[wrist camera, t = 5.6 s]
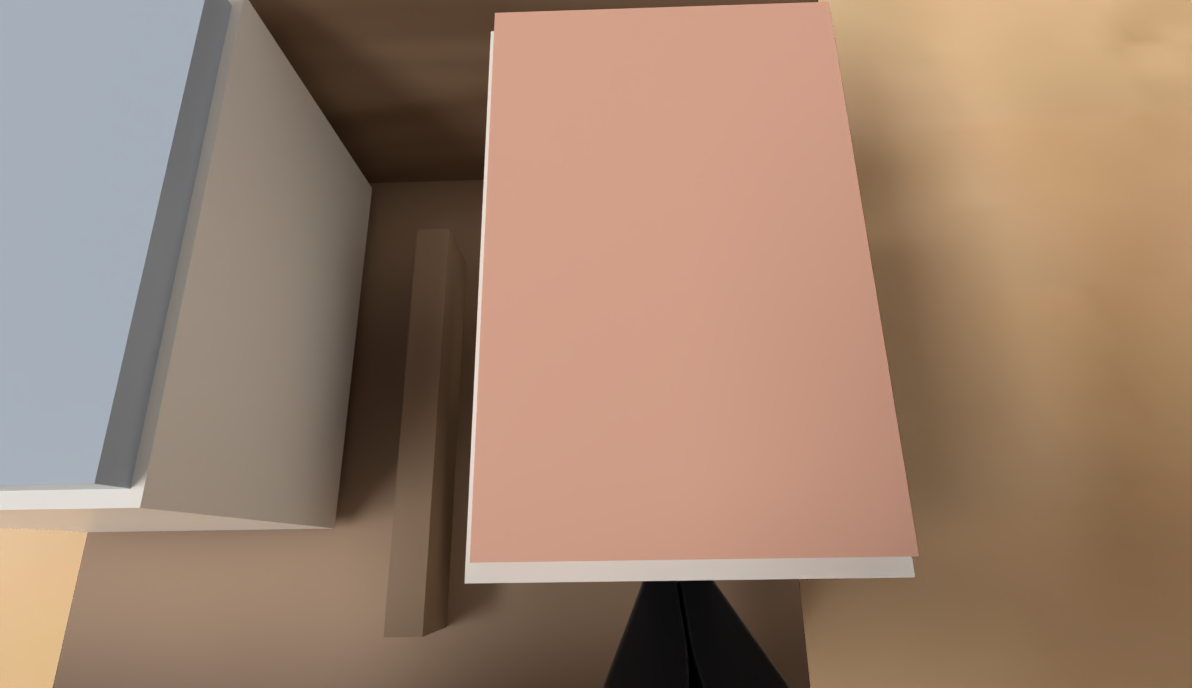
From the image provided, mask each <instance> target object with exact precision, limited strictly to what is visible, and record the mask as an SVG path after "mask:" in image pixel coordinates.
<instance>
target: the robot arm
mask: <svg viewBox="0 0 1192 688" xmlns="http://www.w3.org/2000/svg"><path fill="white" fill-rule="evenodd" d="M603 688H790V686H789V685H788V684H787V682H786V681H785V679H784V678H783V677H782V675H781V674H780V672H779V671H778V670H777V668H776V667H775V665H774V664H773V663H772V661H771V660H770V658H769V657H768V656H767V654H766V653H765V651H764V650H763V649H762V647H761V646H760V644H759V643H758V642H757V640H756V639H755V637H754V636H753V635H752V633H751V632H750V630H749V629H748V628H747V626H746V625H745V624H744V622H743V621H742V619H741V618H740V617H739V615H738V614H737V612H736V611H735V610H734V608H733V607H732V605H731V604H730V603H729V601H728V600H727V598H726V597H725V596H724V594H723V593H722V591H721V590H720V589H719V587H718V586H717V584H716V583H715V582H714V580H690V581H642V584H641V587H640V589H639V592H638V595H637V597H636V600H635V603H634V605H633V608H632V611H631V613H630V616H629V619H628V621H627V624H626V627H625V629H624V632H623V635H622V637H621V640H620V643H619V645H618V648H617V651H616V653H615V656H614V659H613V661H612V664H611V667H610V669H609V672H608V675H607V677H606V680H605V683H604V685H603Z"/></svg>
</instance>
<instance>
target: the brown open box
mask: <svg viewBox="0 0 1192 688" xmlns="http://www.w3.org/2000/svg"><path fill="white" fill-rule="evenodd" d="M249 1H250V3H251V4H252V6H253V8H254V9H255V11H256V12H257V14H258V15H259V17H260V18H261V20H262V21H263V23H264V24H265V26H266V27H267V29H268V30H269V32H270V33H271V35H272V36H273V38H274V40H275V41H276V43H277V44H278V46H279V47H280V49H281V50H282V52H283V53H284V55H285V56H286V58H287V59H288V61H289V62H290V64H291V65H292V67H293V68H294V70H295V72H296V73H297V75H298V76H299V78H300V79H301V81H302V82H303V84H304V85H305V87H306V88H307V90H308V91H309V93H310V94H311V96H312V97H313V99H314V100H315V102H316V104H317V105H318V107H319V108H320V110H321V111H322V113H323V114H324V116H325V117H326V119H327V120H328V122H329V123H330V125H331V126H332V128H333V129H334V131H335V132H336V134H337V136H338V137H339V139H340V140H341V142H342V143H343V145H344V146H345V148H346V149H347V151H348V152H349V154H350V155H351V157H352V158H353V160H354V161H355V163H356V164H357V166H358V168H359V169H360V171H361V172H362V174H363V175H364V177H365V178H366V180H367V181H368V183H369V184H370V186H371V187H372V194H371V203H370V212H369V221H368V230H367V239H366V248H365V257H364V266H363V275H362V284H361V293H360V303H359V312H358V321H357V330H356V339H355V348H354V357H353V366H352V375H351V384H350V393H349V402H348V411H347V421H346V430H345V439H344V448H343V457H342V466H341V475H340V484H339V493H338V502H337V511H336V520H335V529H271V530H206V531H140V532H88V534H87V538H86V542H85V547H84V551H83V556H82V560H81V565H80V569H79V573H78V578H77V582H76V587H75V591H74V596H73V600H72V604H71V609H70V613H69V618H68V622H67V627H66V631H65V635H64V640H63V644H62V649H61V653H60V658H59V662H58V666H57V671H56V675H55V680H54V684H53V688H603V685H604V683H605V680H606V677H607V675H608V672H609V669H610V667H611V664H612V661H613V659H614V656H615V653H616V651H617V648H618V645H619V643H620V640H621V637H622V635H623V632H624V629H625V627H626V624H627V621H628V619H629V616H630V613H631V611H632V608H633V605H634V603H635V600H636V597H637V595H638V592H639V589H640V587H641V584H642V581H615V582H540V583H465V562H466V541H467V521H468V500H469V479H470V458H471V437H472V416H473V395H474V374H475V353H476V332H477V311H478V290H479V269H480V249H481V228H482V207H483V186H484V165H485V144H486V123H487V102H488V81H489V60H490V39H491V31H494V21H495V13H506V12H536V11H566V10H596V9H626V8H656V7H686V6H716V5H747V4H777V3H807V2H818V0H249ZM714 582H715V583H716V584H717V586H718V587H719V589H720V590H721V591H722V593H723V594H724V596H725V597H726V598H727V600H728V601H729V603H730V604H731V605H732V607H733V608H734V610H735V611H736V612H737V614H738V615H739V617H740V618H741V619H742V621H743V622H744V624H745V625H746V626H747V628H748V629H749V630H750V632H751V633H752V635H753V636H754V637H755V639H756V640H757V642H758V643H759V644H760V646H761V647H762V649H763V650H764V651H765V653H766V654H767V656H768V657H769V658H770V660H771V661H772V663H773V664H774V665H775V667H776V668H777V670H778V671H779V672H780V674H781V675H782V677H783V678H784V679H785V681H786V682H787V684H788V685H789V686H790V688H810V681H809V672H808V662H807V653H806V643H805V634H804V624H803V615H802V605H801V596H800V587H799V579H765V580H714ZM464 583H465V584H464Z"/></svg>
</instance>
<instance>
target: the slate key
mask: <svg viewBox="0 0 1192 688" xmlns="http://www.w3.org/2000/svg"><path fill="white" fill-rule="evenodd" d="M371 194H372V187H371V186H370V184H369V183H368V181H367V180H366V178H365V177H364V175H363V174H362V172H361V171H360V169H359V168H358V166H357V164H356V163H355V161H354V160H353V158H352V157H351V155H350V154H349V152H348V151H347V149H346V148H345V146H344V145H343V143H342V142H341V140H340V139H339V137H338V136H337V134H336V132H335V131H334V129H333V128H332V126H331V125H330V123H329V122H328V120H327V119H326V117H325V116H324V114H323V113H322V111H321V110H320V108H319V107H318V105H317V104H316V102H315V100H314V99H313V97H312V96H311V94H310V93H309V91H308V90H307V88H306V87H305V85H304V84H303V82H302V81H301V79H300V78H299V76H298V75H297V73H296V72H295V70H294V68H293V67H292V65H291V64H290V62H289V61H288V59H287V58H286V56H285V55H284V53H283V52H282V50H281V49H280V47H279V46H278V44H277V43H276V41H275V40H274V38H273V36H272V35H271V33H270V32H269V30H268V29H267V27H266V26H265V24H264V23H263V21H262V20H261V18H260V17H259V15H258V14H257V12H256V11H255V9H254V8H253V6H252V4H251V3H250V1H249V0H0V528H12V529H32V530H52V531H72V532H140V531H206V530H271V529H335V520H336V511H337V502H338V493H339V484H340V475H341V466H342V457H343V448H344V439H345V430H346V421H347V411H348V402H349V393H350V384H351V375H352V366H353V357H354V348H355V339H356V330H357V321H358V312H359V303H360V293H361V284H362V275H363V266H364V257H365V248H366V239H367V230H368V221H369V212H370V203H371Z"/></svg>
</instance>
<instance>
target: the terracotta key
mask: <svg viewBox="0 0 1192 688" xmlns="http://www.w3.org/2000/svg"><path fill="white" fill-rule="evenodd" d="M912 556H919V552H918V546H917V540H916V534H915V528H914V522H913V515H912V509H911V503H910V497H909V491H908V485H907V479H906V472H905V466H904V460H903V454H902V448H901V442H900V436H899V430H898V423H897V417H896V411H895V405H894V399H893V393H892V387H891V380H890V374H889V368H888V362H887V356H886V350H885V344H884V337H883V331H882V325H881V319H880V313H879V307H878V301H877V295H876V288H875V282H874V276H873V270H872V264H871V258H870V252H869V245H868V239H867V233H866V227H865V221H864V215H863V209H862V203H861V196H860V190H859V184H858V178H857V172H856V166H855V160H854V153H853V147H852V141H851V135H850V129H849V123H848V117H847V110H846V104H845V98H844V92H843V86H842V80H841V74H840V68H839V61H838V55H837V49H836V43H835V37H834V31H833V25H832V18H831V12H830V6H829V2H807V3H777V4H747V5H716V6H686V7H656V8H626V9H596V10H566V11H536V12H506V13H495V21H494V31H491V39H490V60H489V81H488V102H487V123H486V144H485V165H484V186H483V207H482V228H481V249H480V269H479V290H478V311H477V332H476V353H475V374H474V395H473V416H472V437H471V458H470V479H469V500H468V521H467V541H466V562H465V583H540V582H615V581H690V580H765V579H840V578H915V572H914V566H913V559H912ZM465 583H464V584H465Z"/></svg>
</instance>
